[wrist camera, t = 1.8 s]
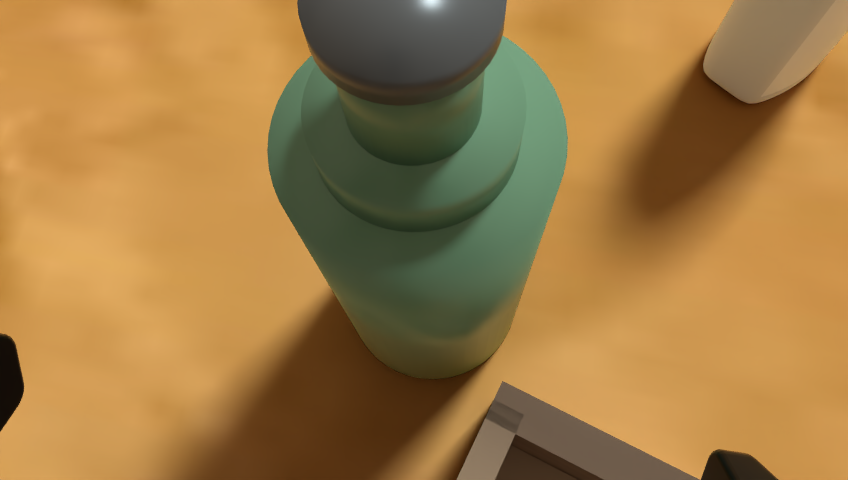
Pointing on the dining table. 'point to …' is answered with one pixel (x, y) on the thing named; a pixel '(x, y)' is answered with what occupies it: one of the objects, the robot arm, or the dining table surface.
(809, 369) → the dining table surface
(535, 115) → the bottle
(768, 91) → the eye dropper bottle
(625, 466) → the u rest
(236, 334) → the dining table surface
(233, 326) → the dining table surface
